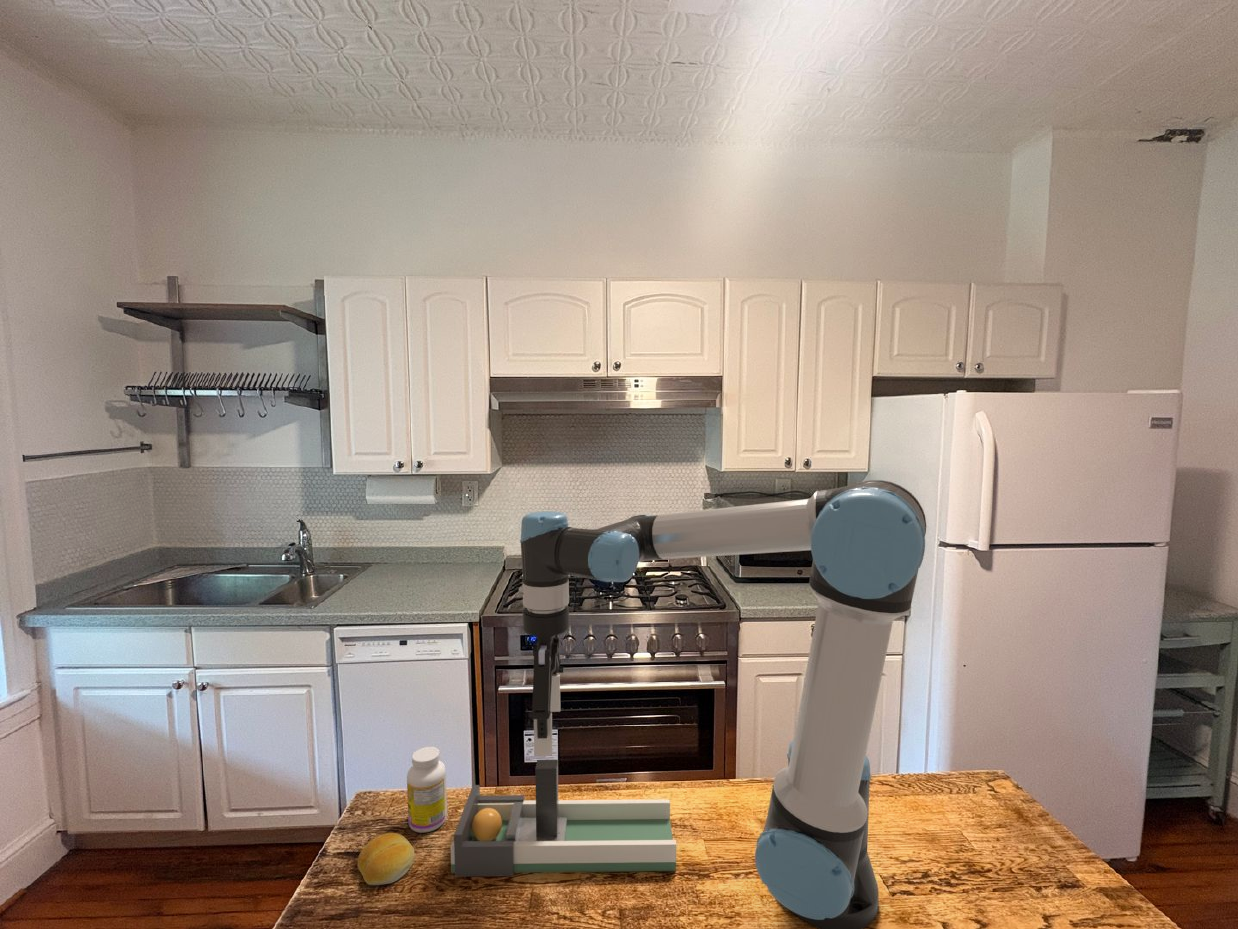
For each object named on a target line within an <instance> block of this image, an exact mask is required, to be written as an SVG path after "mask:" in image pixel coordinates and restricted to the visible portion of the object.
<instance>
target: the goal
mask: <svg viewBox="0 0 1238 929" xmlns="http://www.w3.org/2000/svg"><path fill="white" fill-rule="evenodd" d="M480 793H481V792H480V784H474V785H472V786H471V788H470V792H469V793H468V794H469V795H468V797H467V799H466V803H465V804H464V808H463V810H462V813H461V816H460V818H459V820H458V824H457V826H456V829H455V831H454V834H453V842H454V854H455V873H454V877H457V878H458V877H513V876H514V874H515V872H514V849H513V846H514V841H471V840H472V837H473V833H472V821H473V819H474V817H475V815H476V814H477V813H478V803H509V802H524V801H526V799H525V795H523V794H518V795H516V794H515V795H514V794H513V795H505V794H504V795H481V794H480Z"/></svg>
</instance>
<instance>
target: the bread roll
mask: <svg viewBox="0 0 1238 929" xmlns="http://www.w3.org/2000/svg"><path fill="white" fill-rule="evenodd" d="M414 861H415V848H414V846H413V845H412V844H411V843H410V842H409V840H408V839H407V838H406V837H405V836H403V835H402V834H400V833H398V832H387V833H386V832H385V833H382V834H379V835H378V836H376V837H374V838H372V839H371V840H370V841H369V842H368V843H367V844H366V845H365V846H364V847H363V848H362V849H361V851H360V853H359V855H358V856H357V868H358V871H359V872H360V873H361V875H362V877H363V881H364V882H365V883H366V884H367V885H369V886H382V885H388V884H389V885H390V884H393V883H395V882H397V881H399V880H400V879H401V878H403V877H404V876H405V875H406V874H407V873H408V872H409V870H410V869H411V868H412V866H413V863H414Z"/></svg>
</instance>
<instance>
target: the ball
mask: <svg viewBox="0 0 1238 929" xmlns="http://www.w3.org/2000/svg"><path fill="white" fill-rule="evenodd" d="M501 827H502V819H501V816H500V814H499V813H498V812H497V811H496V810H495V809H492V808H485V809H482V810H480V811H479V812H478V813H477V814H476V815H475V817H474V819H473V821H472V833H473V836H474V837H475V838H476V839H477V840H478V841H493V840H494V839H495V838H496V837H497V836H498V835H499V833H500V831H501Z"/></svg>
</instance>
